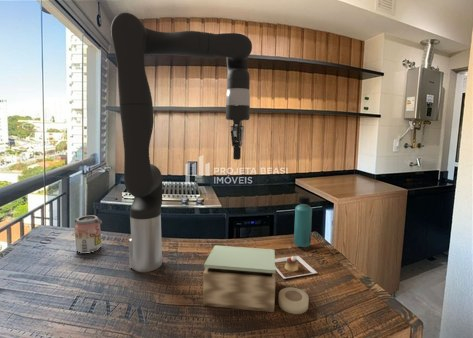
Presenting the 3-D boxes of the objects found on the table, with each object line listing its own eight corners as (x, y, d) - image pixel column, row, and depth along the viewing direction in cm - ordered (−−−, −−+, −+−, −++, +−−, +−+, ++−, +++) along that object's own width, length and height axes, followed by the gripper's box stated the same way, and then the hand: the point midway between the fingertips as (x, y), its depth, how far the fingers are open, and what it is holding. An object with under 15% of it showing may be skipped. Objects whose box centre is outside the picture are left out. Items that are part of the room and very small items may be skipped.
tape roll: (278, 312, 68) (279, 303, 67) (278, 294, 75) (278, 285, 75) (310, 315, 67) (310, 306, 66) (306, 296, 74) (306, 288, 74)
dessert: (267, 262, 93) (267, 249, 92) (298, 258, 97) (298, 245, 96) (283, 282, 82) (284, 267, 81) (317, 276, 86) (318, 261, 85)
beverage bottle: (311, 252, 101) (314, 199, 98) (292, 250, 102) (295, 198, 99) (309, 244, 107) (313, 195, 104) (292, 242, 108) (295, 194, 105)
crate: (203, 305, 70) (203, 272, 68) (214, 275, 83) (214, 248, 82) (274, 312, 68) (275, 278, 66) (273, 280, 81) (274, 252, 80)
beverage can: (83, 243, 104) (81, 213, 102) (106, 243, 105) (104, 213, 103) (71, 255, 95) (69, 222, 93) (96, 254, 96) (94, 221, 94)
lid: (203, 267, 68) (203, 264, 68) (214, 247, 82) (214, 245, 82) (275, 273, 66) (275, 270, 66) (274, 252, 80) (274, 249, 80)
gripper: (229, 106, 92) (228, 156, 95) (222, 102, 79) (221, 161, 82) (251, 106, 92) (250, 157, 94) (248, 102, 79) (246, 162, 81)
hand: (236, 159), depth 88 cm, fingers closed
